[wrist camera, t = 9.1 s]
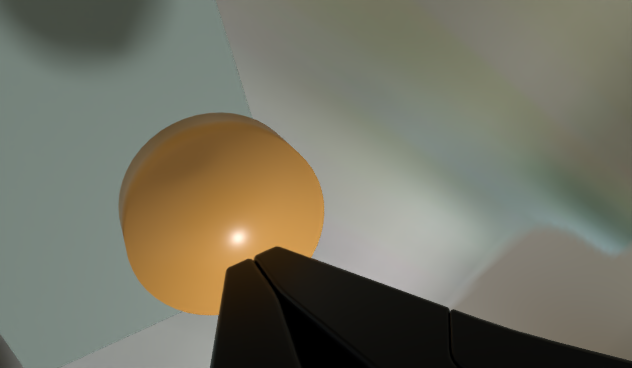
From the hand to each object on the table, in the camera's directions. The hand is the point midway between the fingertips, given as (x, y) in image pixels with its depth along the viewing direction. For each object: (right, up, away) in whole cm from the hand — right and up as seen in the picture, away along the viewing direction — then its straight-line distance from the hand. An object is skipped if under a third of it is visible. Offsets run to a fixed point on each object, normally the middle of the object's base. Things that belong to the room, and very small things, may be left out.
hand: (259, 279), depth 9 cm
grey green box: (-6, +4, +10) cm, 12 cm away
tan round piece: (-2, +2, +3) cm, 4 cm away
